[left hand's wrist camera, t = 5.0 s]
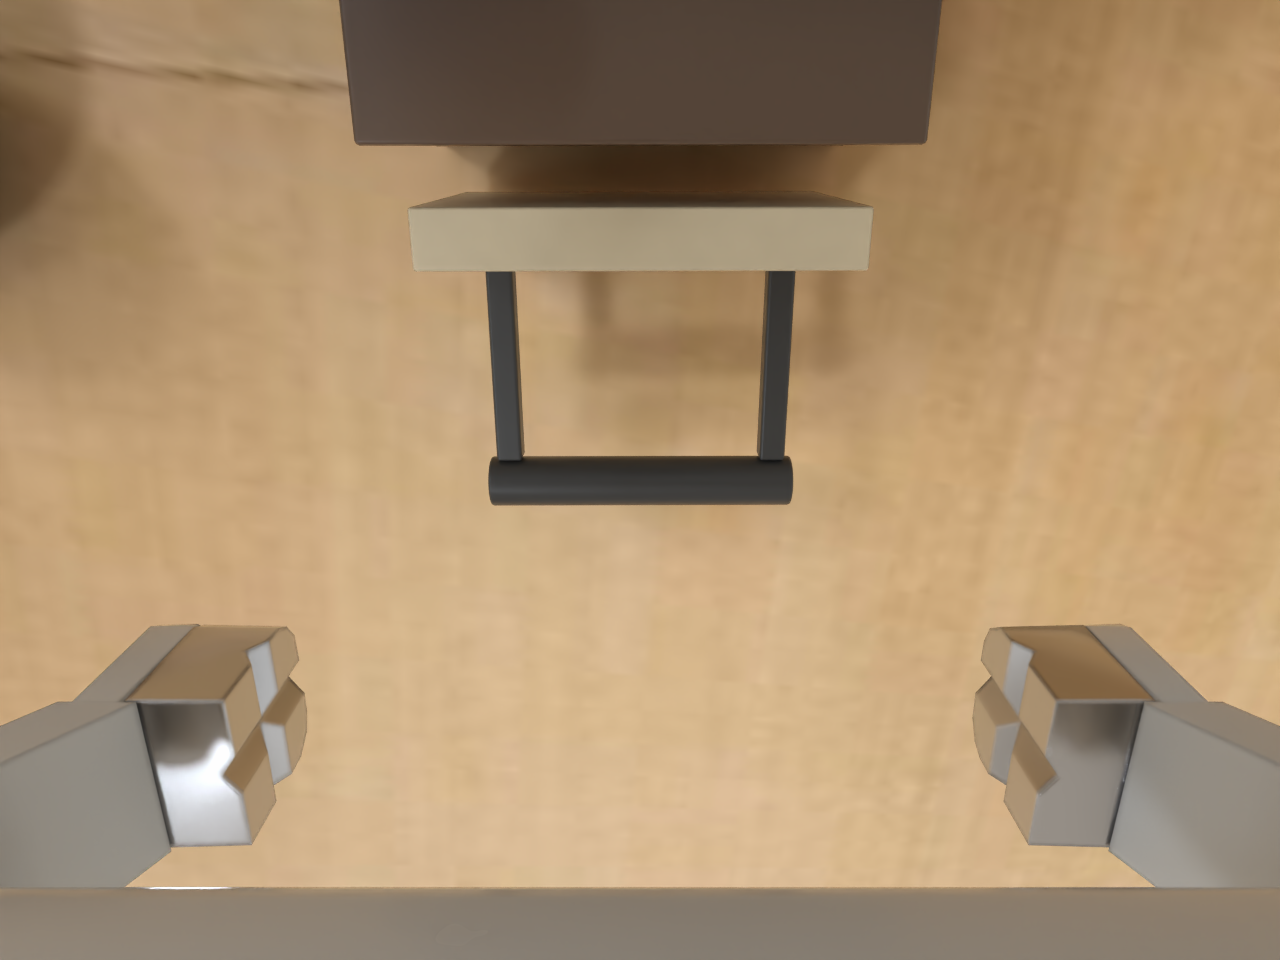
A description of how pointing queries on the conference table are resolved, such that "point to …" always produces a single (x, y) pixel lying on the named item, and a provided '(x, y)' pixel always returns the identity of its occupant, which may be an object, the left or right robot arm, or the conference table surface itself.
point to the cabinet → (640, 72)
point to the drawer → (640, 241)
